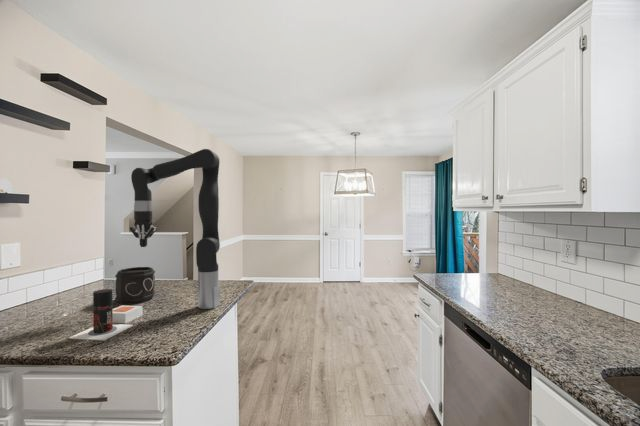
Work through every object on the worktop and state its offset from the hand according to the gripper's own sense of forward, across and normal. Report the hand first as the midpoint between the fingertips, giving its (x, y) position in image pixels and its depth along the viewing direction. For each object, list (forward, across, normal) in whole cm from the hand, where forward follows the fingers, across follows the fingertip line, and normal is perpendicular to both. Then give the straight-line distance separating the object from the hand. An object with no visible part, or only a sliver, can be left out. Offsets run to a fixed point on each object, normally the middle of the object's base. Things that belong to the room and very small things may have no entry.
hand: (143, 246), depth 145 cm
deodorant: (+29, -5, +29) cm, 41 cm away
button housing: (+29, -2, +15) cm, 33 cm away
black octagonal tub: (+29, +13, -12) cm, 34 cm away
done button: (+28, -2, +15) cm, 32 cm away
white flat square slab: (+29, -5, +29) cm, 41 cm away
